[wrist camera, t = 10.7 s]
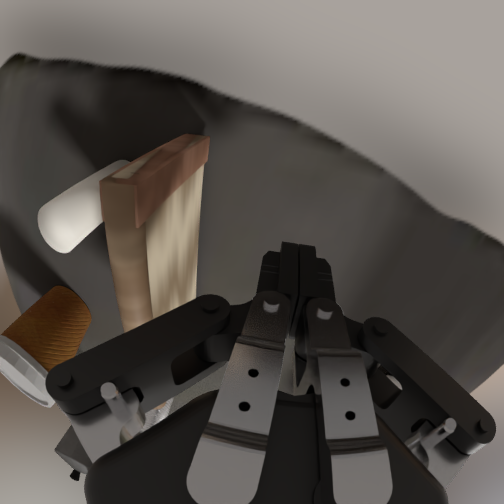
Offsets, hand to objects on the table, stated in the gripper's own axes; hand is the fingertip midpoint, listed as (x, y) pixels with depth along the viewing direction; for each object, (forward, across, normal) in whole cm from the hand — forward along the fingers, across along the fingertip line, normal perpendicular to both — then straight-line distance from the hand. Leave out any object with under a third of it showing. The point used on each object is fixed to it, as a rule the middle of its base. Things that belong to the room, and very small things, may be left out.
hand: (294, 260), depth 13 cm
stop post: (+7, +12, 0) cm, 14 cm away
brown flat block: (+6, +7, +4) cm, 10 cm away
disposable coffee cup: (+7, +23, +16) cm, 29 cm away
